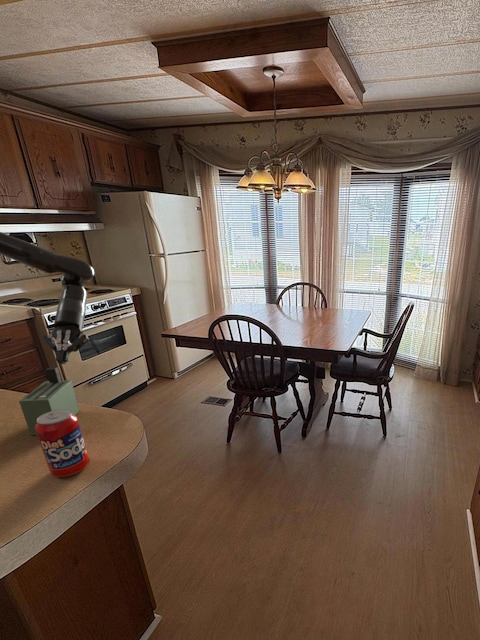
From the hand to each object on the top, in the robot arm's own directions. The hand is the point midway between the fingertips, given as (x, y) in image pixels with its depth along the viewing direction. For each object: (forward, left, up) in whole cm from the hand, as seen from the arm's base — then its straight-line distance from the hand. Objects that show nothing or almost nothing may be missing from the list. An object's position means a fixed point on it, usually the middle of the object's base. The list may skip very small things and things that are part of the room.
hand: (61, 363), depth 106 cm
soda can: (+7, -36, -15) cm, 40 cm away
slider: (-1, -6, -4) cm, 7 cm away
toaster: (-2, -10, -15) cm, 18 cm away
